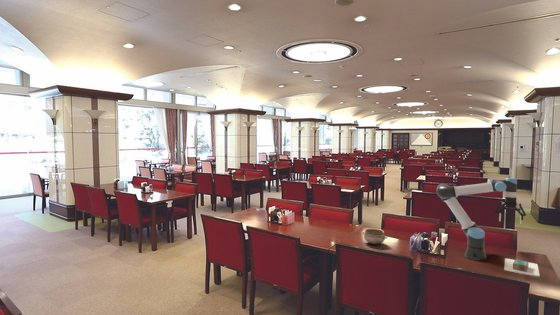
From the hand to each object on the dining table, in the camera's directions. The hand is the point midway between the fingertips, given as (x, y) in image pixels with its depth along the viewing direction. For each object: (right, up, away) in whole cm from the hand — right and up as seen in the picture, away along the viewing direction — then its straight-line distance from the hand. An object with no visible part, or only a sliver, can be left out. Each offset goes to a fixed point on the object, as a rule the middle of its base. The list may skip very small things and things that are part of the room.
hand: (510, 222), depth 253 cm
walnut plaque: (-6, -27, -20) cm, 34 cm away
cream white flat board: (-7, -30, -21) cm, 37 cm away
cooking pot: (-101, -28, +35) cm, 110 cm away
